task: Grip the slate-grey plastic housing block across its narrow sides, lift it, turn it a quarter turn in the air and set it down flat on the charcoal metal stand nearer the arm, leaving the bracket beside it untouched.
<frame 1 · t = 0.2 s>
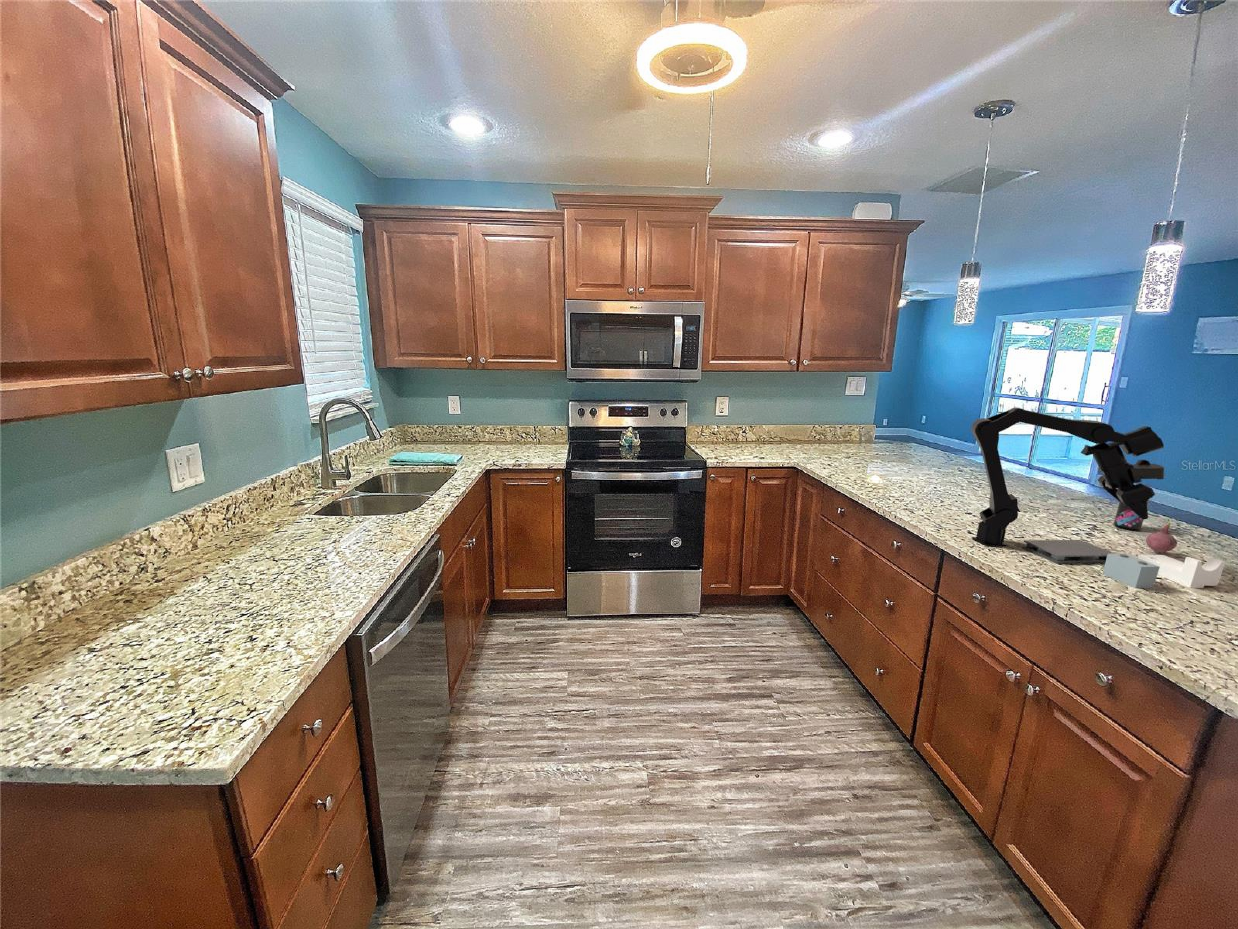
hand: (1138, 513, 132), 15 cm above the worktop, tool tilted 30°, fingers open, 9 cm apart
vegetable: (1157, 554, 143), on the worktop
stand: (1067, 555, 141), on the worktop
bracket: (1173, 577, 129), on the worktop
housing: (1126, 581, 126), on the worktop
supplement container: (1126, 528, 165), on the worktop
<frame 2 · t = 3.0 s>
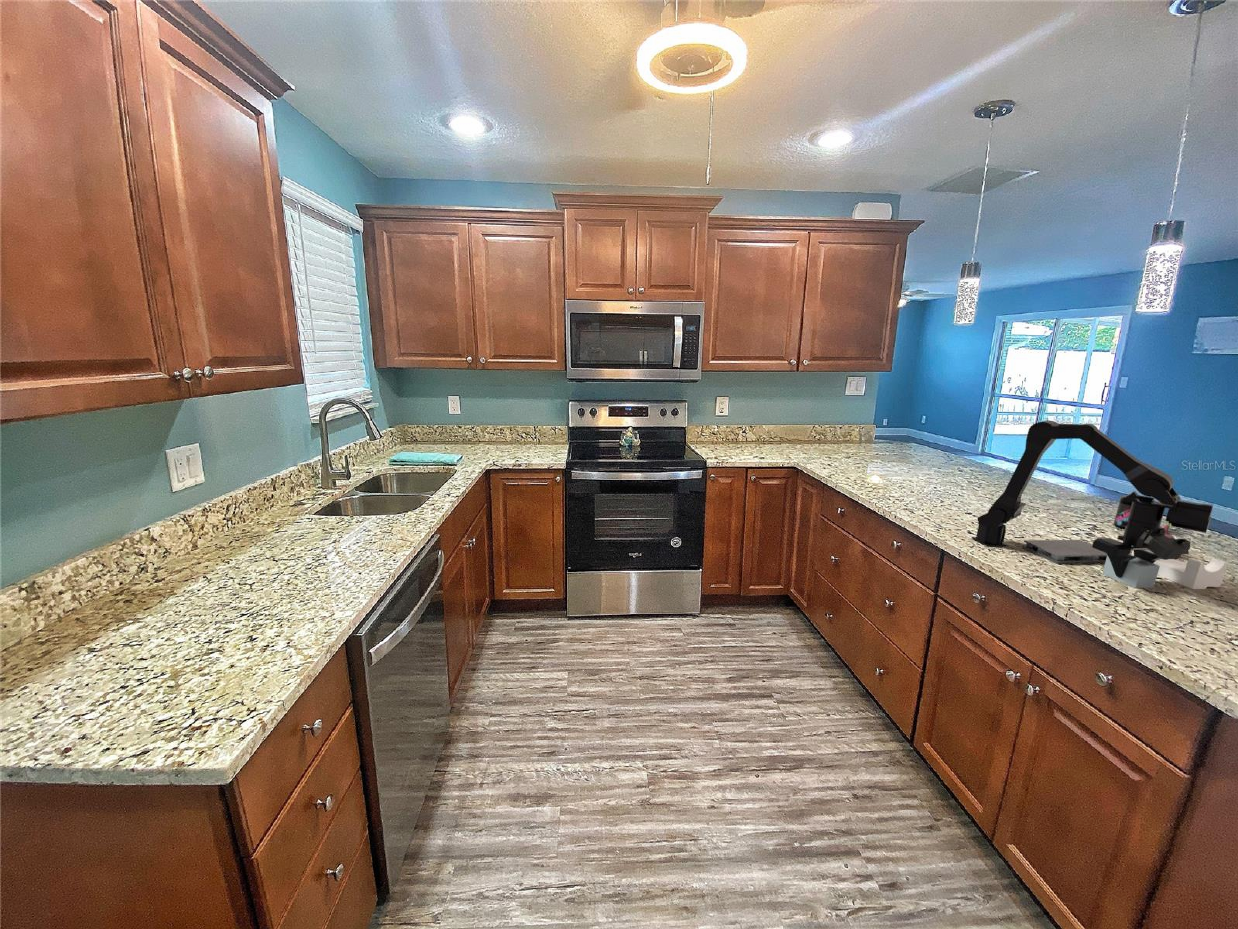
hand: (1128, 576, 125), 1 cm above the worktop, tool pointing down, fingers closed on housing, 5 cm apart
housing: (1127, 580, 126), on the worktop, touching gripper
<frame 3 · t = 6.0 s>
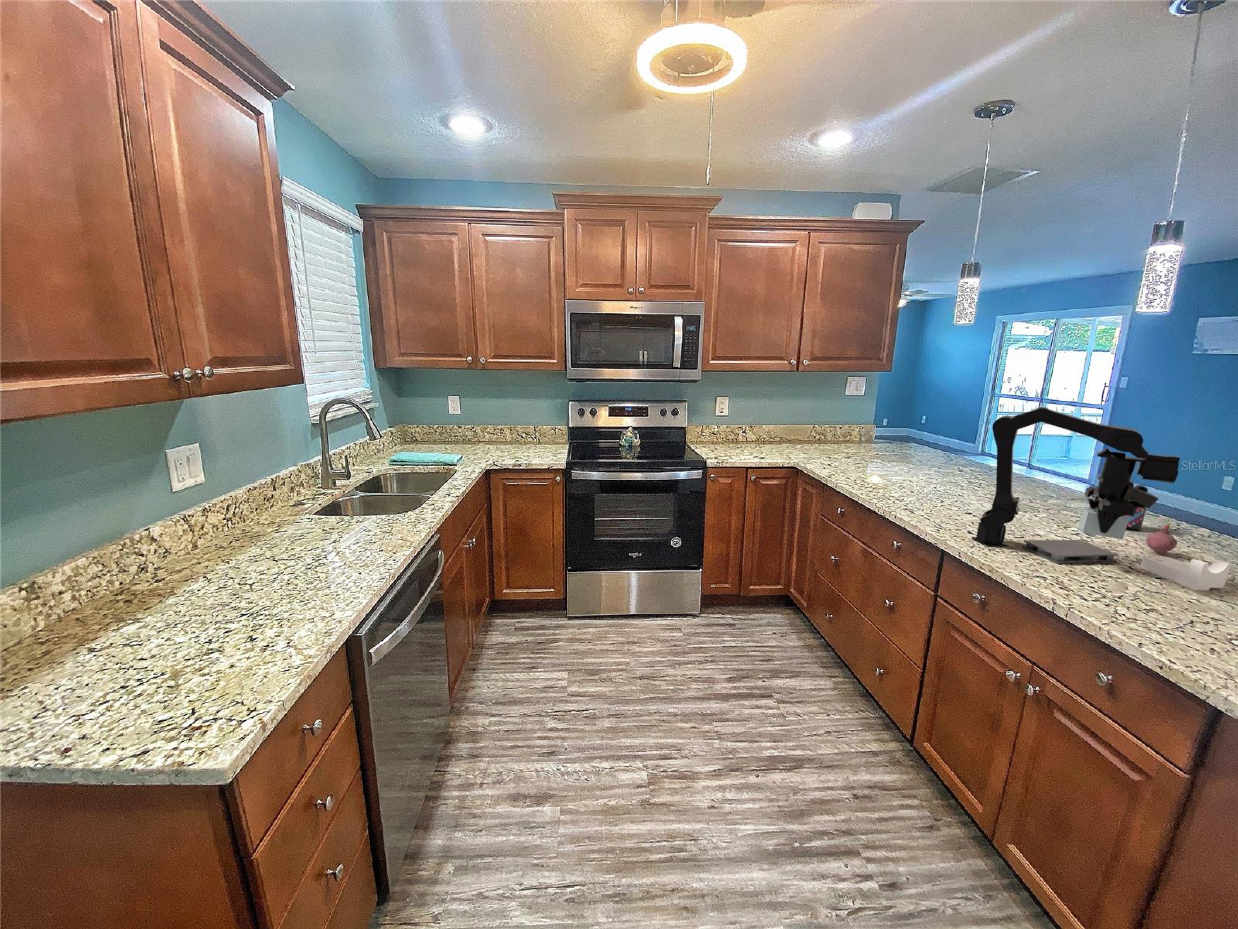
hand: (1100, 529, 132), 11 cm above the worktop, tool pointing down, fingers closed on housing, 5 cm apart
housing: (1099, 533, 132), point 10 cm above the worktop, touching gripper
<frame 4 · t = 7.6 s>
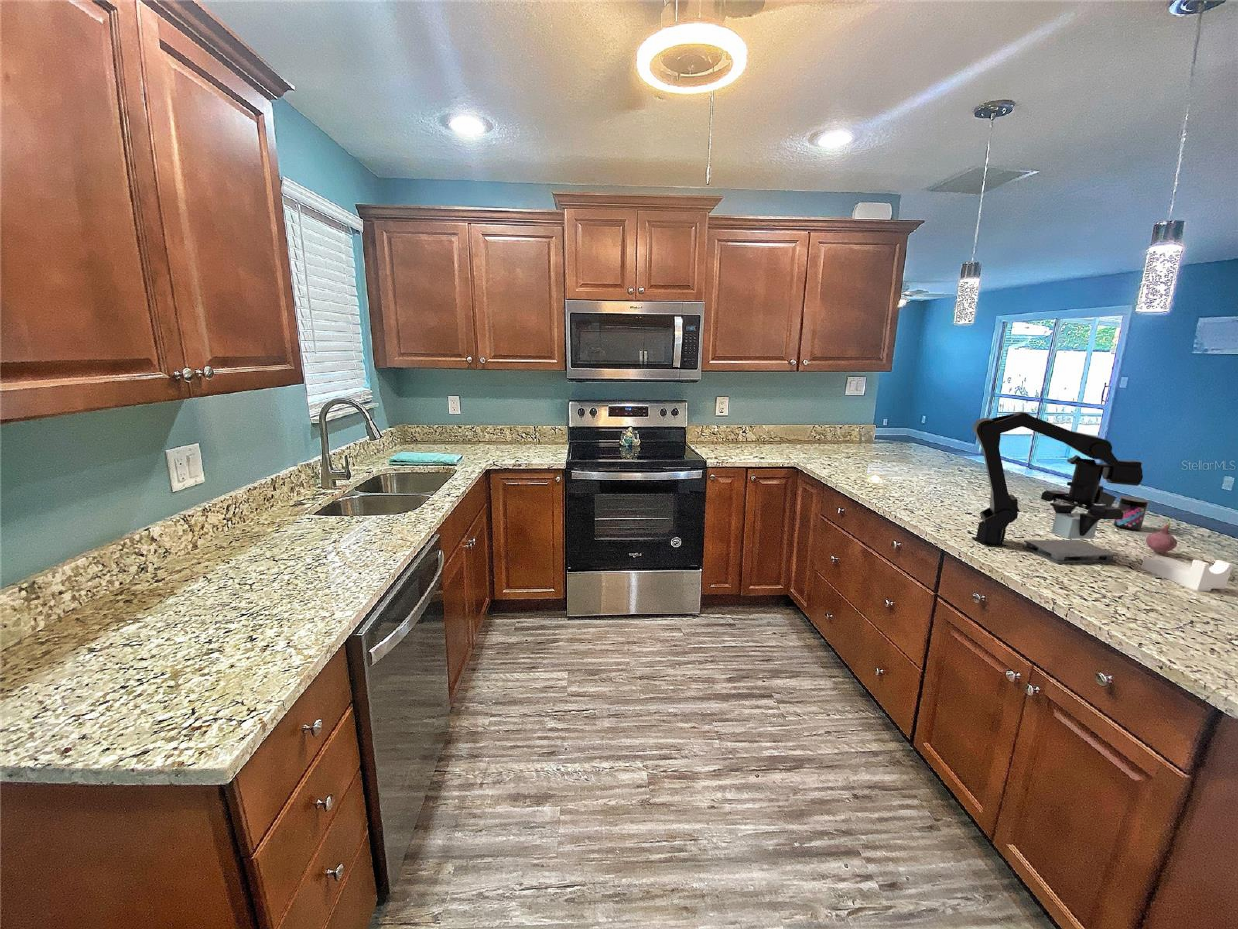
hand: (1072, 532, 139), 7 cm above the worktop, tool pointing down, fingers closed on housing, 5 cm apart
housing: (1072, 535, 140), point 6 cm above the worktop, touching gripper
when the fingers open (5 cm above the worktop, at t = 8.9 s): housing drops 1 cm, resting on stand.
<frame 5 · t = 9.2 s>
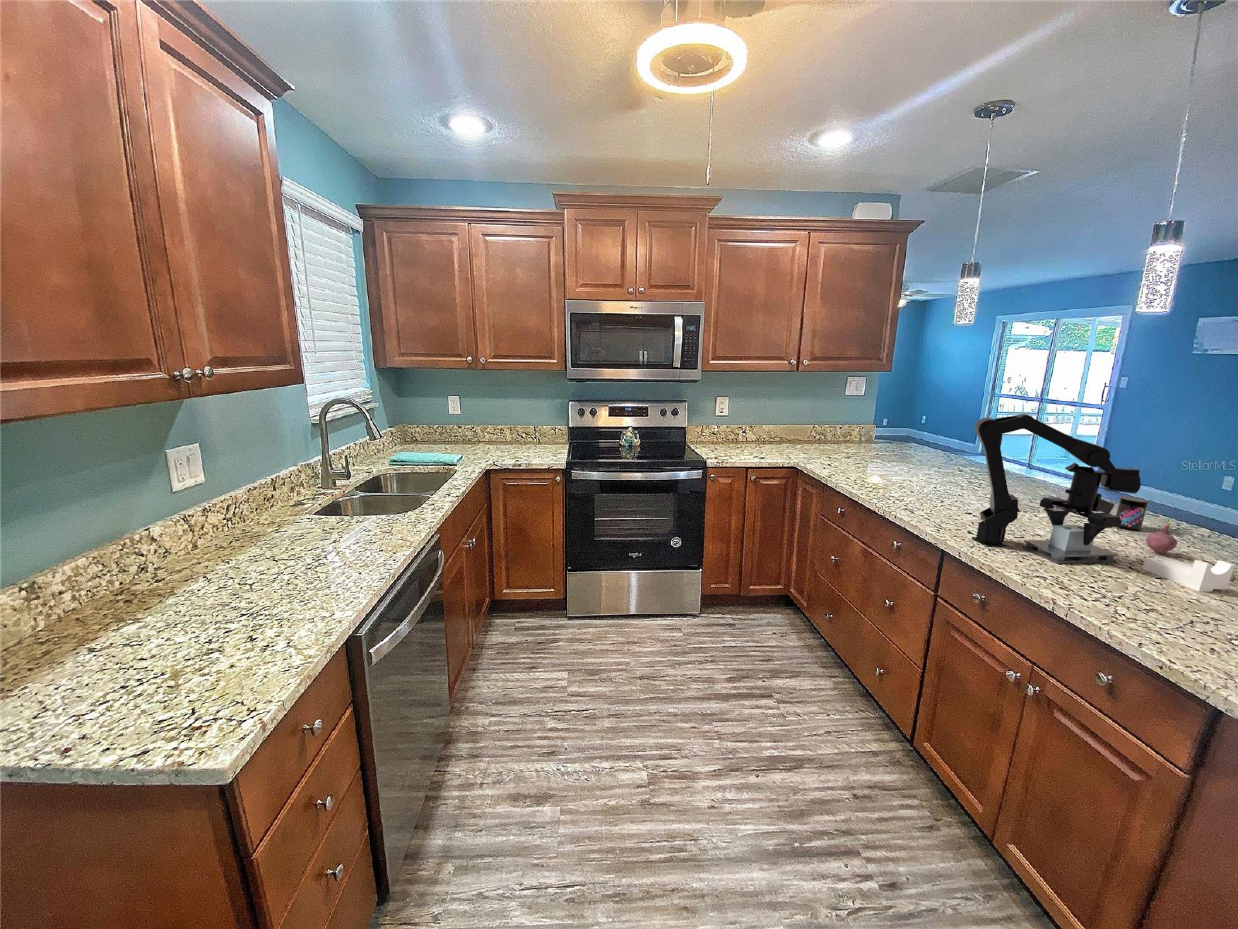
hand: (1071, 539, 140), 5 cm above the worktop, tool pointing down, fingers open, 8 cm apart
housing: (1069, 547, 140), point 2 cm above the worktop, touching stand
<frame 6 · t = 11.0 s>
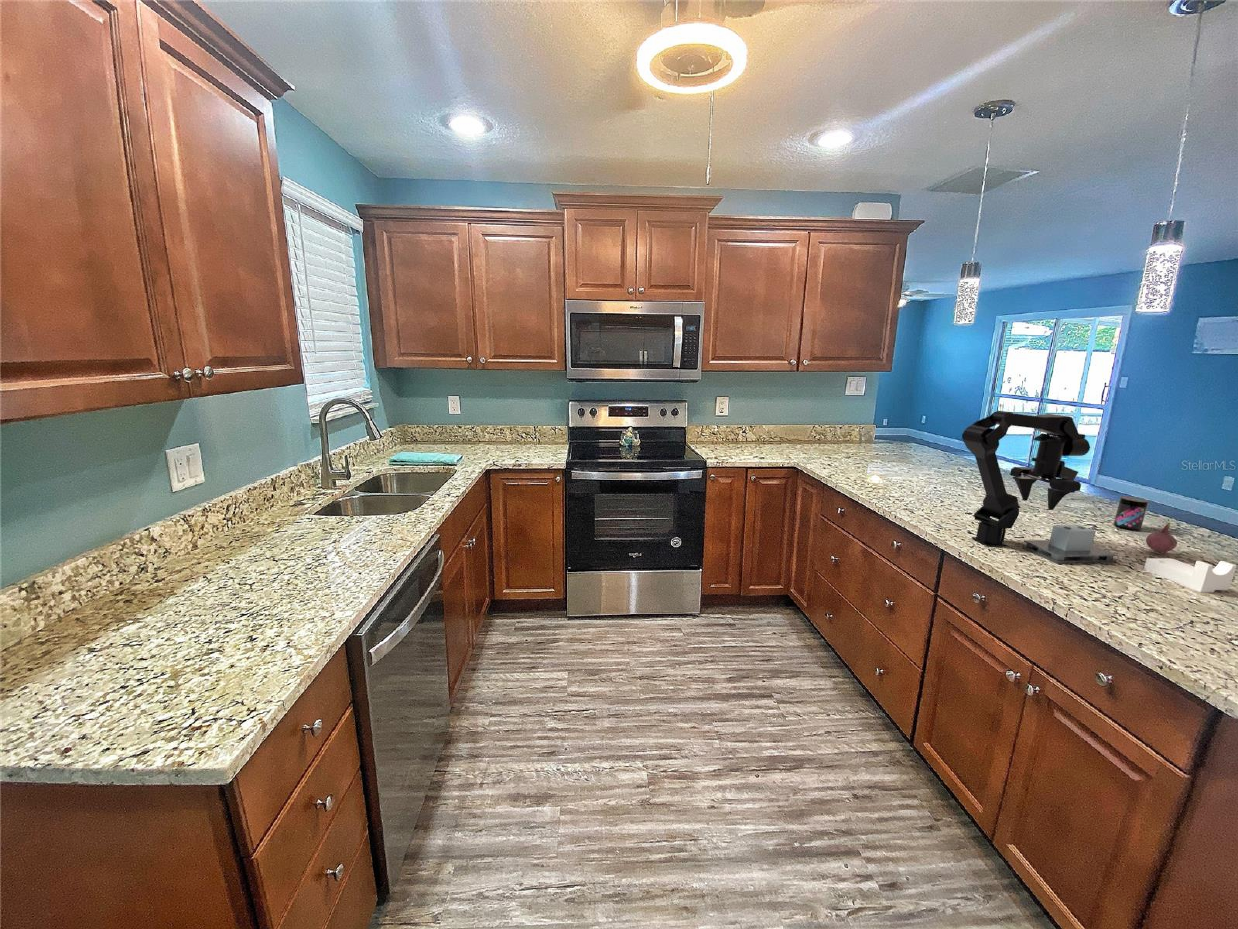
hand: (1037, 505, 149), 12 cm above the worktop, tool pointing down, fingers open, 9 cm apart
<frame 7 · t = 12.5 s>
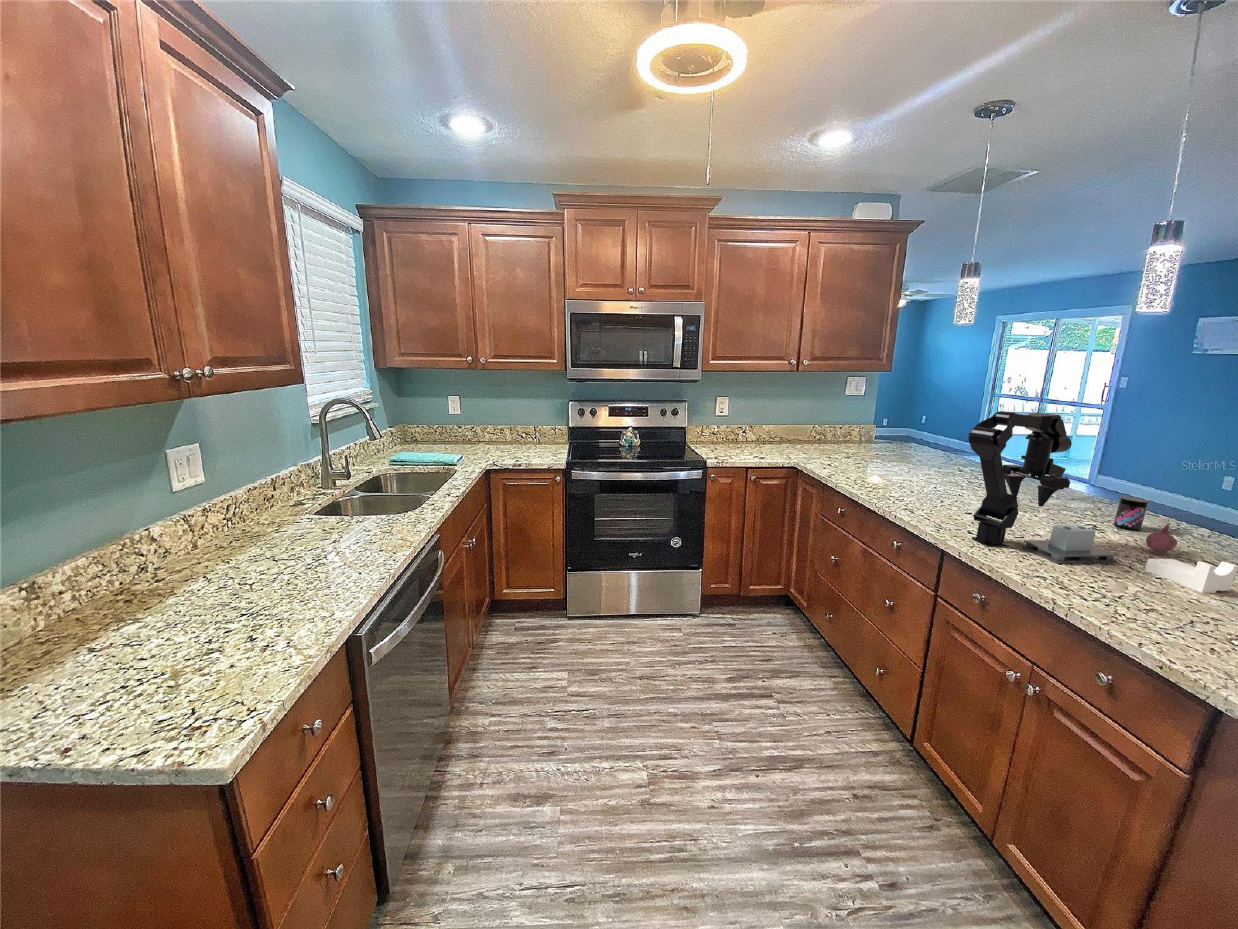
hand: (1027, 501, 152), 12 cm above the worktop, tool pointing down, fingers open, 9 cm apart
at the end: housing inside the target area on the stand (0.0 cm from its centre), point 2.5 cm above the stand's base; housing tilted 0°; the gripper is holding nothing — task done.
